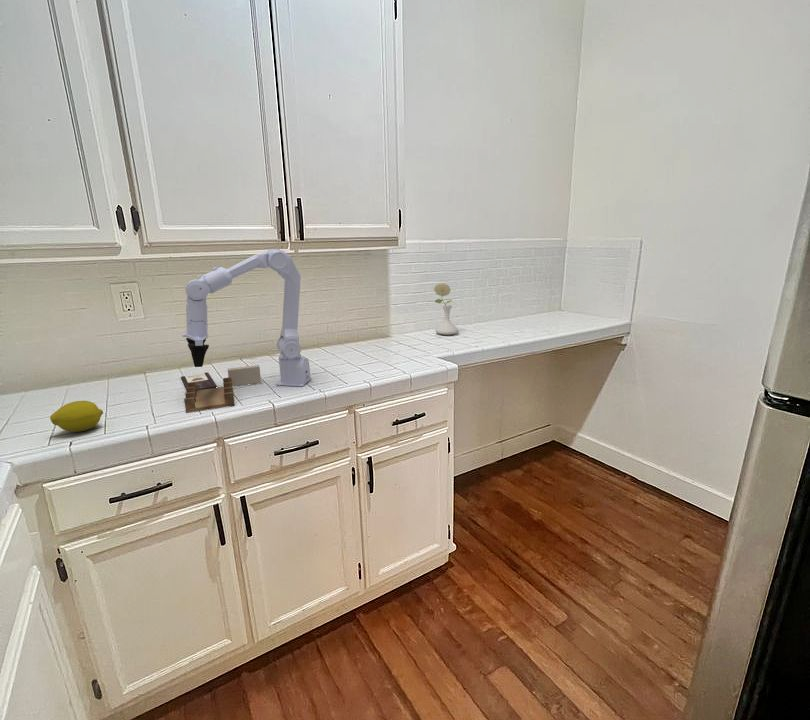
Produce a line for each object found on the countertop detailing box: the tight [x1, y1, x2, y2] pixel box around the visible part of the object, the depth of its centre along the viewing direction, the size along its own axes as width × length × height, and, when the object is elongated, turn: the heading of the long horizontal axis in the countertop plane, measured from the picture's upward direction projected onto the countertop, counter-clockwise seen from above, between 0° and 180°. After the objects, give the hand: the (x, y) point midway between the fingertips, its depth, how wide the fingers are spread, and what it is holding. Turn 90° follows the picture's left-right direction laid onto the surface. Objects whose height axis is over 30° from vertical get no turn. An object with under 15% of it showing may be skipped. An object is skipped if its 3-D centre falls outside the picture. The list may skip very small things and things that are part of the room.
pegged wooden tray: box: [183, 376, 236, 414], centre depth 133 cm, size 13×16×4 cm
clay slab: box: [227, 364, 262, 387], centre depth 147 cm, size 10×2×6 cm, turn 113°
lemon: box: [49, 400, 104, 433], centre depth 113 cm, size 11×8×8 cm
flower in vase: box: [433, 282, 459, 336], centre depth 213 cm, size 13×11×25 cm
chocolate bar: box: [180, 371, 218, 390], centre depth 150 cm, size 9×1×18 cm
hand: (197, 363), depth 135 cm, fingers open, 7 cm apart
